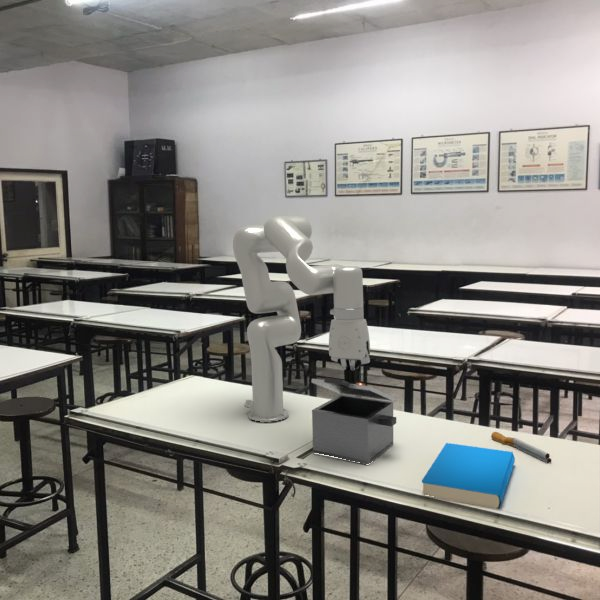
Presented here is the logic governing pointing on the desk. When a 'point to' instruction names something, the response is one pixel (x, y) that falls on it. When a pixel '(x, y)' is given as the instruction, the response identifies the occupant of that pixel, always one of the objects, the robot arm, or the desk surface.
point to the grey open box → (353, 428)
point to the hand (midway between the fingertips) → (351, 384)
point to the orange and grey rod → (521, 446)
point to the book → (469, 475)
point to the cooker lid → (352, 389)
